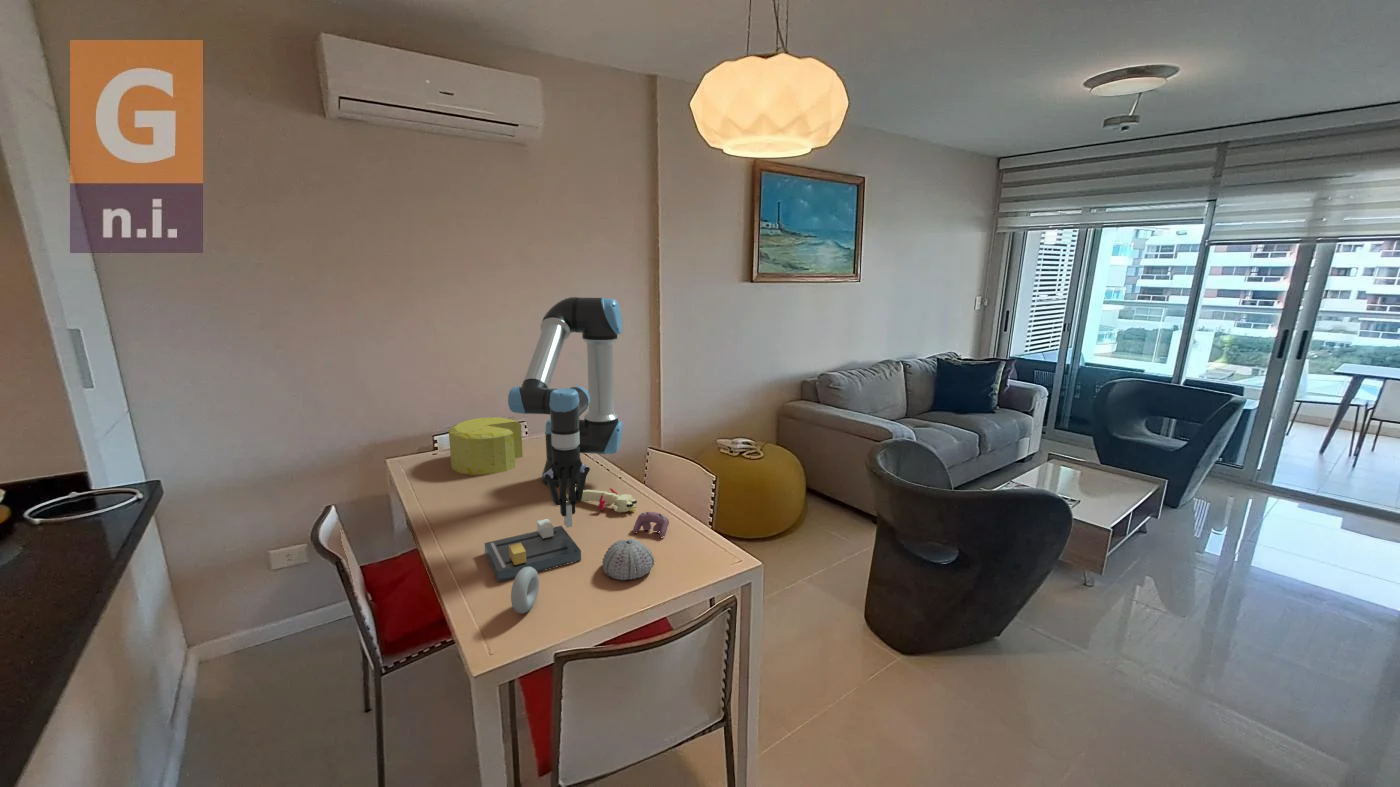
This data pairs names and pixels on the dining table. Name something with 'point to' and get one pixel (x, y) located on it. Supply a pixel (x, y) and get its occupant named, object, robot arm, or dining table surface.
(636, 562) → the sea urchin shell
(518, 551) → the amber block
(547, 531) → the block
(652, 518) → the purple arched piece
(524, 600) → the donut
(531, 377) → the robot arm
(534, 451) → the dining table surface
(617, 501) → the cream elongated figure
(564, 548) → the fader console
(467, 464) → the cheese
